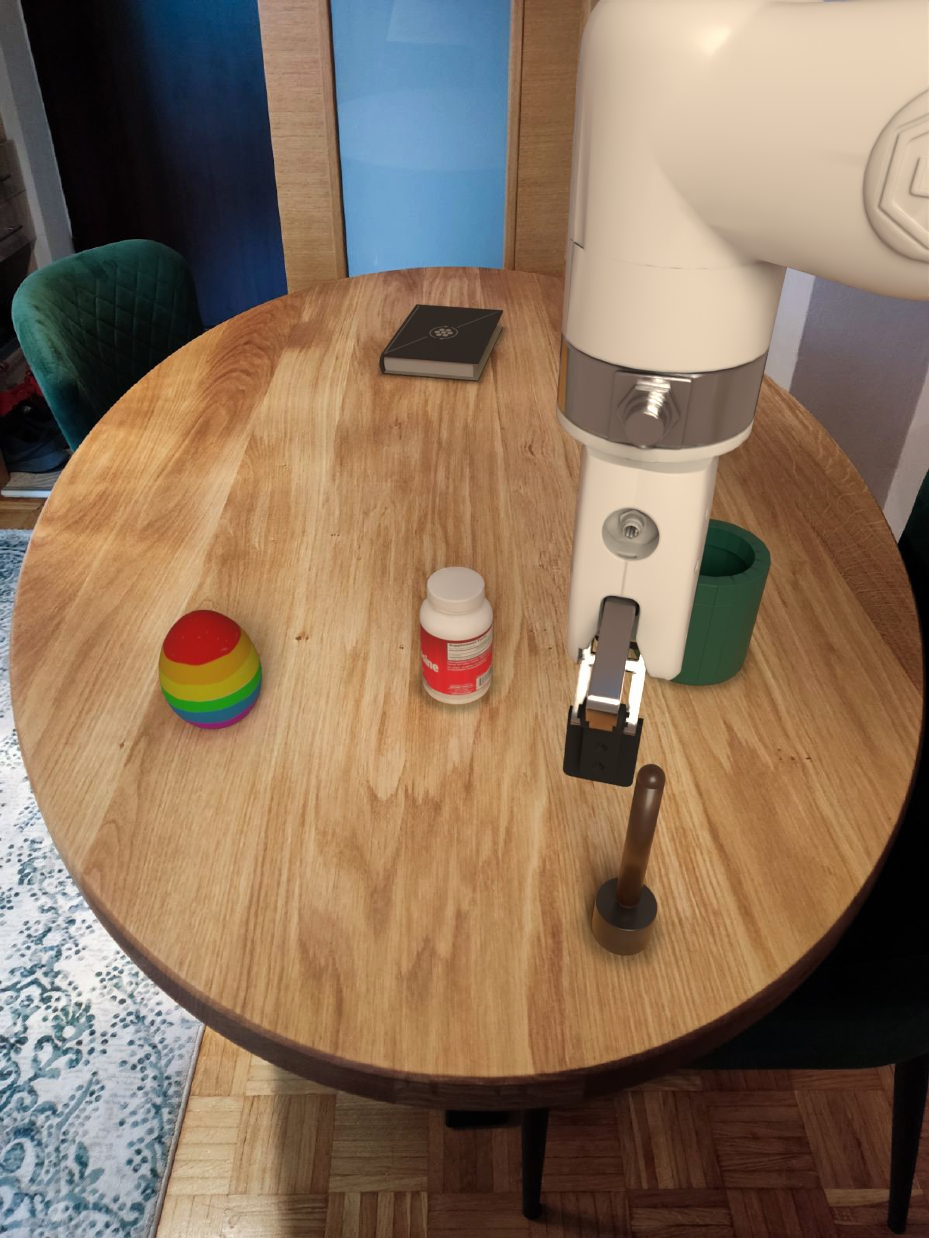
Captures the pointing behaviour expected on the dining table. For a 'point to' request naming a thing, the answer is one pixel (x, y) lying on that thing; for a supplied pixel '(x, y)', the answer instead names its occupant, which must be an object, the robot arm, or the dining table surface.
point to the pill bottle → (456, 636)
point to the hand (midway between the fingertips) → (612, 705)
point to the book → (442, 343)
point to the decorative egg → (209, 670)
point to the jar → (724, 604)
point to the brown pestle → (632, 875)
